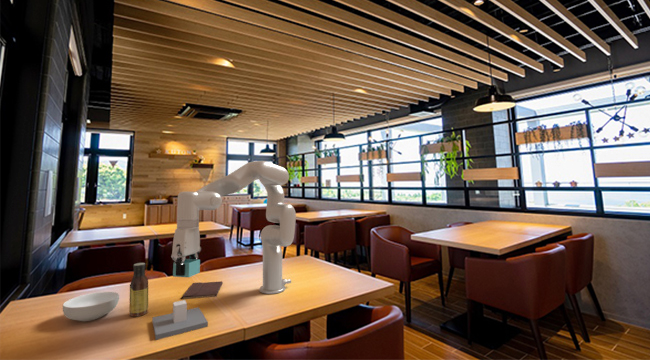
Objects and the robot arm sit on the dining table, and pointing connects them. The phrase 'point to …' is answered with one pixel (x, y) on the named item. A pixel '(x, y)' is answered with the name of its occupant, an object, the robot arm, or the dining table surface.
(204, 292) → the notebook
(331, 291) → the dining table surface
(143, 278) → the sauce bottle
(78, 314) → the cereal bowl
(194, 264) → the teal upright block
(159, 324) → the post base
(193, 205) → the robot arm
